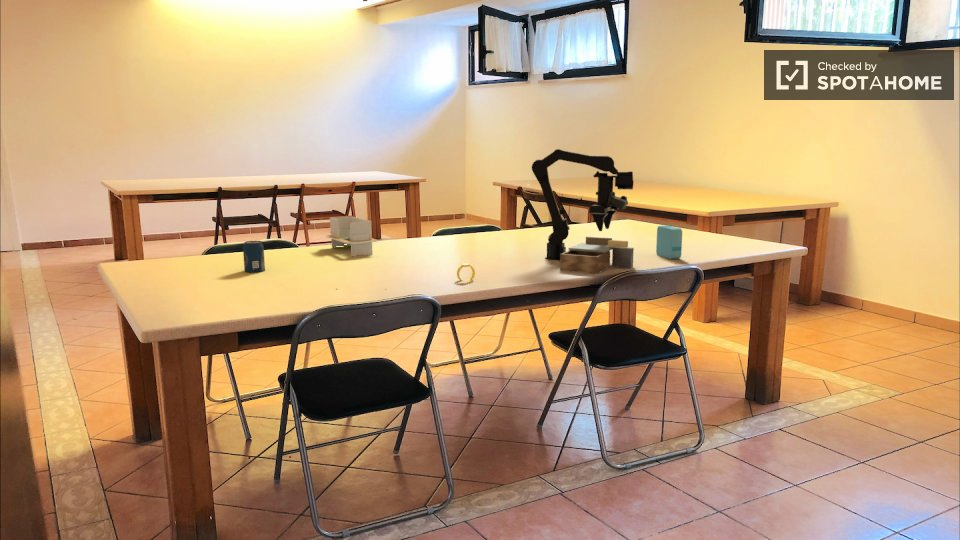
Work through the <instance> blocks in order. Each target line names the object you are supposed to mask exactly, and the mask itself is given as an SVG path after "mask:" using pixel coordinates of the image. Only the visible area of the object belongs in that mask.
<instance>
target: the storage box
mask: <svg viewBox="0 0 960 540" xmlns="http://www.w3.org/2000/svg"><path fill="white" fill-rule="evenodd" d="M559 262H560V263H559V271H564V272H566V271H567V272H573V271H574V272H575V273H583V274H584V273H585V274H595V275H597V274H600V273H601V272H603V271H605V270H607V269H609V268H611V250H610V251H608V252H606V253H601V252H588V251H574V250H569V249H568V250H567V251H566V252H564V253H562V254H560V260H559Z"/></svg>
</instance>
